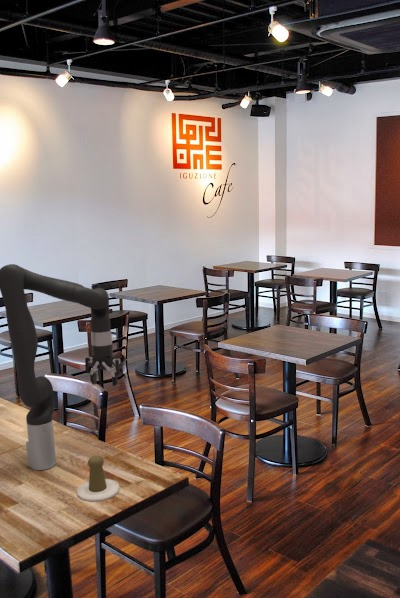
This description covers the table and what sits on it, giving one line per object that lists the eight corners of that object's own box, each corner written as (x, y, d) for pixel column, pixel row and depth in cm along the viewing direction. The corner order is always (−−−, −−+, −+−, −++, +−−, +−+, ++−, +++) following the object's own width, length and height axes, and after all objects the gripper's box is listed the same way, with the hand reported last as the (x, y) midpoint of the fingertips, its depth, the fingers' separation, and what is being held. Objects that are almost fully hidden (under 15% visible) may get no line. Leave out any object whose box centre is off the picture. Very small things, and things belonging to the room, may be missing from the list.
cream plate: (69, 498, 202) (68, 495, 202) (90, 479, 215) (90, 476, 215) (106, 504, 197) (106, 501, 197) (126, 484, 210) (126, 481, 210)
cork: (103, 492, 202) (100, 461, 200) (85, 491, 204) (83, 460, 202) (109, 484, 208) (107, 453, 206) (92, 483, 209) (90, 452, 208)
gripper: (79, 344, 225) (82, 386, 228) (114, 346, 220) (116, 389, 223) (90, 339, 232) (93, 380, 234) (123, 341, 227) (126, 383, 230)
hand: (104, 384), depth 229 cm, fingers open, 8 cm apart
